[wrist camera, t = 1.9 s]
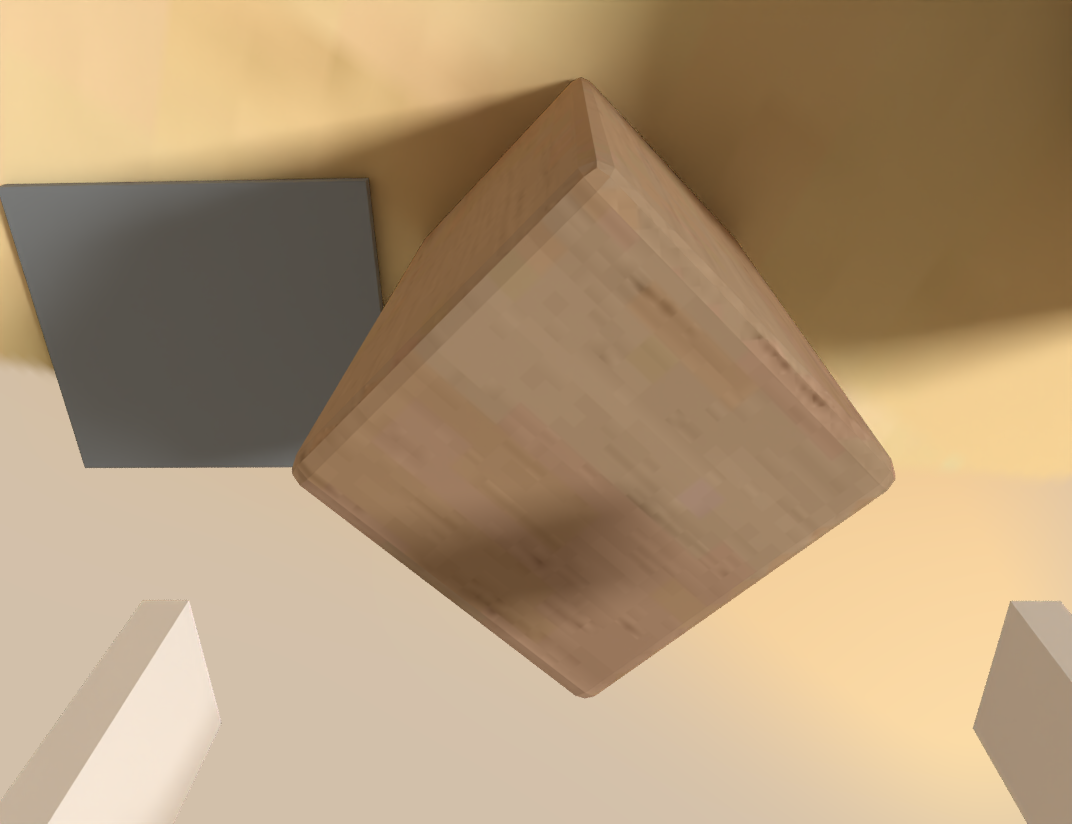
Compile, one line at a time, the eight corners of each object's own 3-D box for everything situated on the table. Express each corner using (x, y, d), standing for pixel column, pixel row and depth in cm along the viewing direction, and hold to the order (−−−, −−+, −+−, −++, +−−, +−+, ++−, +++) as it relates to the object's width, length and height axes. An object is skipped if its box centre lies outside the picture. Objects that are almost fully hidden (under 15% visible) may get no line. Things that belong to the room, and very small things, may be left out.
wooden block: (576, 389, 39) (584, 712, 21) (419, 244, 36) (276, 478, 18) (739, 243, 36) (912, 484, 18) (580, 70, 33) (597, 153, 15)
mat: (5, 184, 36) (-4, 187, 35) (368, 178, 35) (365, 180, 34) (91, 461, 42) (85, 467, 41) (400, 460, 41) (397, 466, 41)
